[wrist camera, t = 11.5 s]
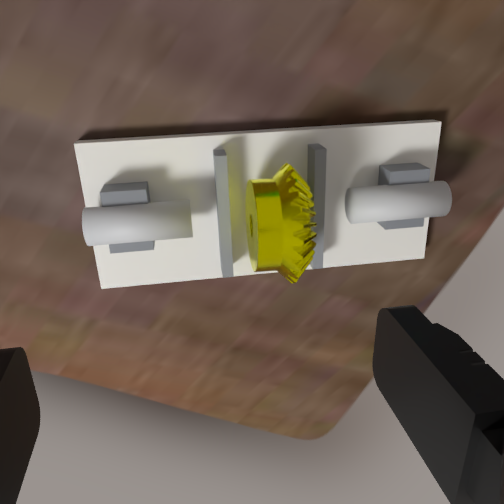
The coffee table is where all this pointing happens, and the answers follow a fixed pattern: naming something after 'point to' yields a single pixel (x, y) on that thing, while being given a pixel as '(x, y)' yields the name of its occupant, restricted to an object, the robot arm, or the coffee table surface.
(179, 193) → the coupling board
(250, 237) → the gear
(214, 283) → the coffee table surface
